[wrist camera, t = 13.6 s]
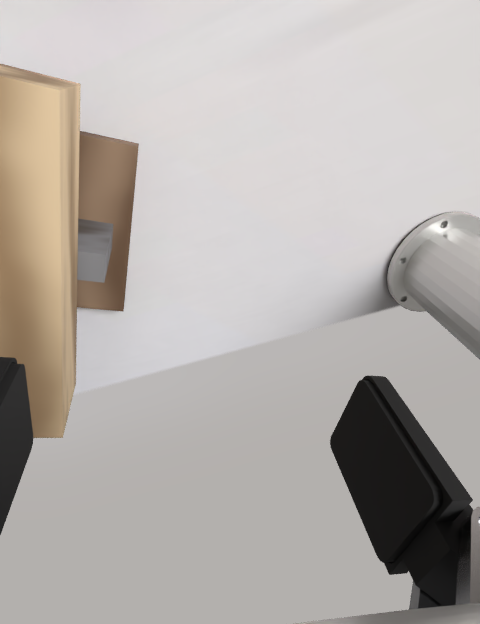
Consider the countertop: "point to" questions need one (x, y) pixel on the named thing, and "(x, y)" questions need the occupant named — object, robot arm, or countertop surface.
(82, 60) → the countertop surface
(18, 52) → the countertop surface
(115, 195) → the walnut stand
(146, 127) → the countertop surface
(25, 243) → the oak beam
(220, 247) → the countertop surface
